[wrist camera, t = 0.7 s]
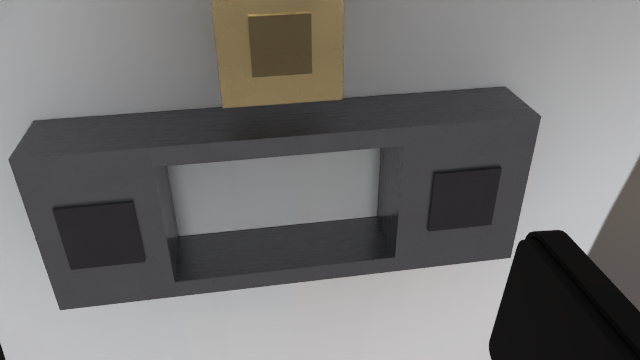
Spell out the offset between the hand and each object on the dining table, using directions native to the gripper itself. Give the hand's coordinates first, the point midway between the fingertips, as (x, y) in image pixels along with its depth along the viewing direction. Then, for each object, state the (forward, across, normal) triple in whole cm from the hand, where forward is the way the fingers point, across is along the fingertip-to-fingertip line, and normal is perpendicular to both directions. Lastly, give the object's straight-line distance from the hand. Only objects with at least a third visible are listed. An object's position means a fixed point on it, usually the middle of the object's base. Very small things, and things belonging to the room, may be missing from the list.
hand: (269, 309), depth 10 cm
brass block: (+20, -2, -1) cm, 20 cm away
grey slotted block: (+20, -3, +9) cm, 22 cm away
